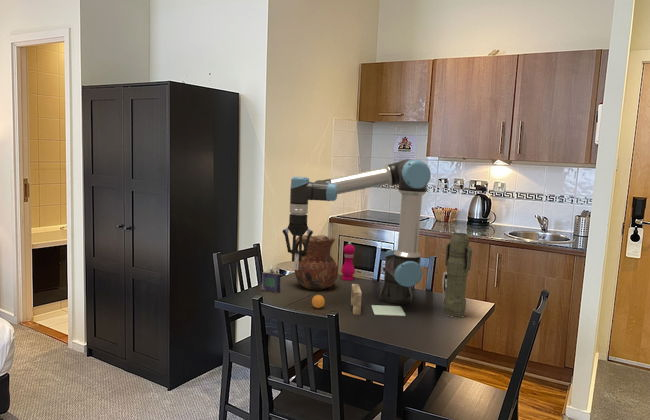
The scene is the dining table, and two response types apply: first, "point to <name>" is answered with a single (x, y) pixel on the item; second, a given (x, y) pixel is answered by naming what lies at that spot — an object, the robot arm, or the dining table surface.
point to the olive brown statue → (457, 274)
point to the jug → (316, 263)
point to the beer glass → (444, 286)
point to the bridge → (356, 299)
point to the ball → (318, 301)
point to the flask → (271, 281)
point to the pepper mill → (348, 263)
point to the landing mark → (388, 310)
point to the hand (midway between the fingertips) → (296, 269)
